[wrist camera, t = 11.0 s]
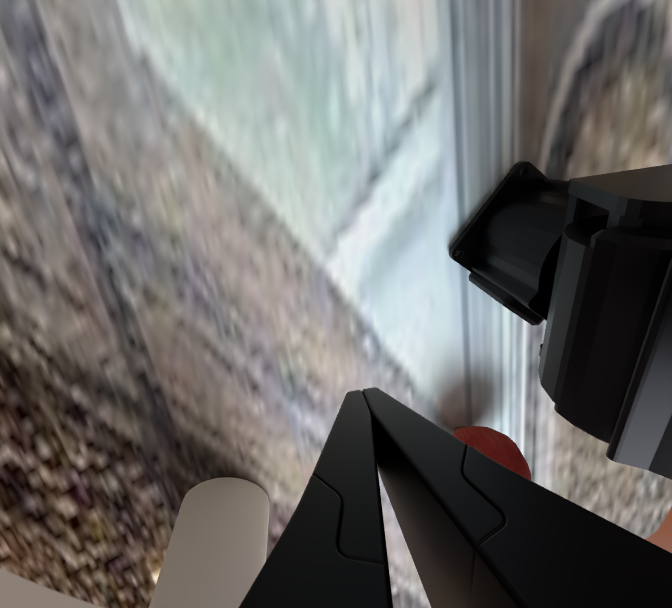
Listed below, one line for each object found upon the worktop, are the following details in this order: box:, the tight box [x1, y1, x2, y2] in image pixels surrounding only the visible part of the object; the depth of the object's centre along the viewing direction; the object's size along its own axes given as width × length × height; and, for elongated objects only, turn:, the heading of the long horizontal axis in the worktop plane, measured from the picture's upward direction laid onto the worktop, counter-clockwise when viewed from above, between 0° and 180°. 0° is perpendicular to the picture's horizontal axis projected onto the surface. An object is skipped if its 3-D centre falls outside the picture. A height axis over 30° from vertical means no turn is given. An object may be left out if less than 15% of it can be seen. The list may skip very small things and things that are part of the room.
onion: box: [452, 426, 531, 481], centre depth 24 cm, size 6×6×8 cm
